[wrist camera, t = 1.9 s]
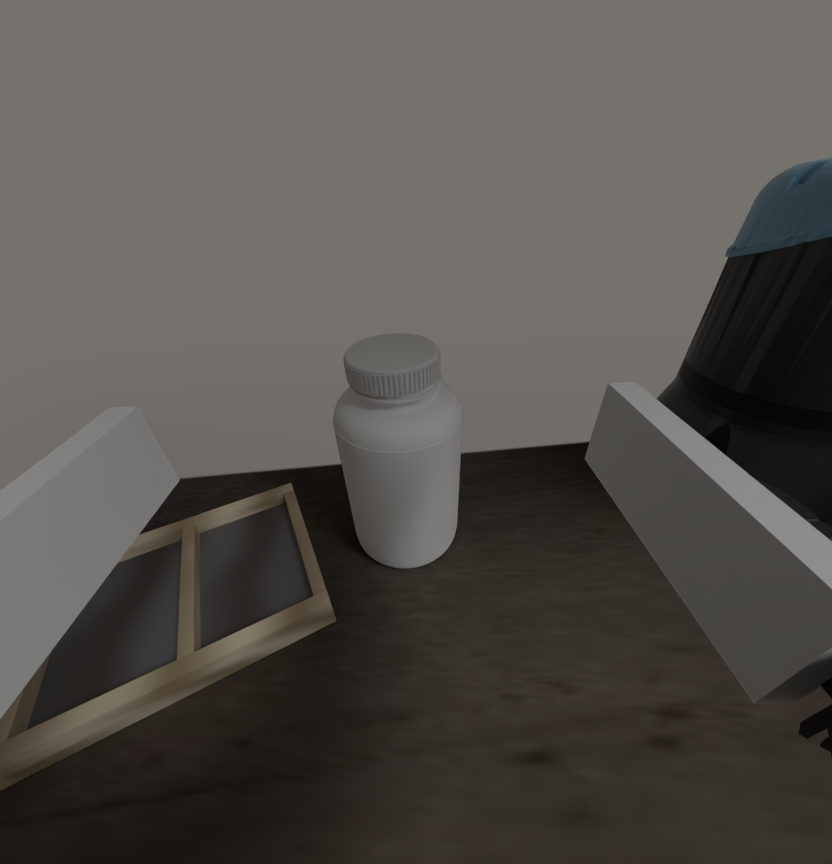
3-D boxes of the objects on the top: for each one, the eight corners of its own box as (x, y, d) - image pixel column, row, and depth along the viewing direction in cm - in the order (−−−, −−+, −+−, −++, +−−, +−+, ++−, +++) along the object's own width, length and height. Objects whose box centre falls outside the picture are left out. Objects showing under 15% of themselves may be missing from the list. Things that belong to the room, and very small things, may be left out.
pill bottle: (368, 588, 24) (328, 395, 15) (349, 505, 30) (312, 335, 21) (474, 553, 26) (492, 364, 17) (435, 482, 32) (434, 317, 23)
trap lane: (296, 499, 31) (291, 482, 30) (336, 620, 22) (330, 603, 21) (-227, 688, 20) (-267, 673, 19) (-554, 1070, 11) (-666, 1086, 10)
